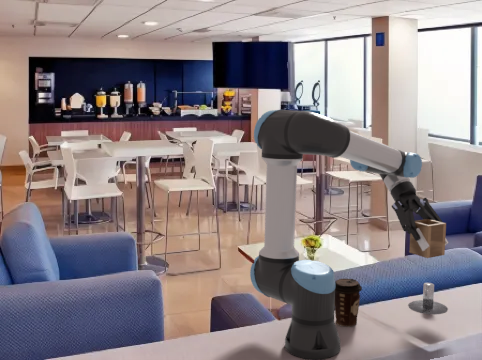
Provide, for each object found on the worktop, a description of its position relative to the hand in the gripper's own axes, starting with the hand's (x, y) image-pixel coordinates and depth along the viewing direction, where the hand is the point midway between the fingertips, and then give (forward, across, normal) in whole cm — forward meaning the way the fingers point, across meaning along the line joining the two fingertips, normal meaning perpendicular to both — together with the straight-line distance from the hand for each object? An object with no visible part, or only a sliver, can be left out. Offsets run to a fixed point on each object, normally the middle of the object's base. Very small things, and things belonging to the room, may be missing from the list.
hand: (435, 246), depth 182 cm
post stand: (+13, -2, -18) cm, 23 cm away
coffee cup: (+10, +26, -23) cm, 36 cm away
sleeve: (0, 0, -5) cm, 5 cm away
